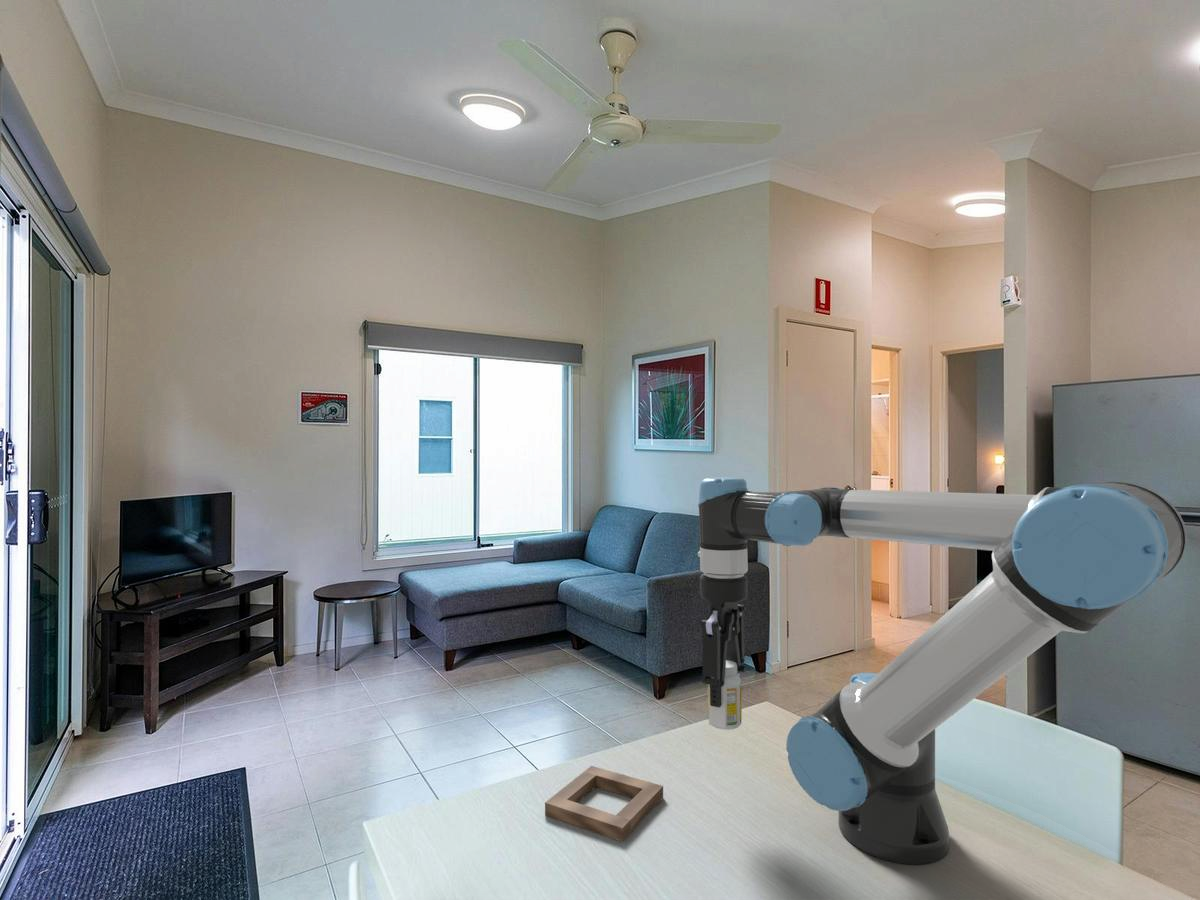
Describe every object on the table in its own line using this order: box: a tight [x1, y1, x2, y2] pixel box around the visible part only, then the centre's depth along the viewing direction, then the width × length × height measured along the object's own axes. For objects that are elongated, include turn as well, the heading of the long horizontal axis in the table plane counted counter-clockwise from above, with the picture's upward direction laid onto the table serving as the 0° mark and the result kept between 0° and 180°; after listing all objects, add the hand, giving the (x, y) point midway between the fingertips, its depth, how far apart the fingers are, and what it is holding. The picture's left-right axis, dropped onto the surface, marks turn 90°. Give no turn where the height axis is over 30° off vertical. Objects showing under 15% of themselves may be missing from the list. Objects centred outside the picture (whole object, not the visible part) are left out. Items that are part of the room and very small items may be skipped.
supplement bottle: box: [707, 660, 743, 731], centre depth 106 cm, size 5×5×10 cm
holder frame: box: [544, 765, 664, 842], centre depth 107 cm, size 14×14×2 cm
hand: (724, 718), depth 106 cm, fingers closed on supplement bottle, 5 cm apart
